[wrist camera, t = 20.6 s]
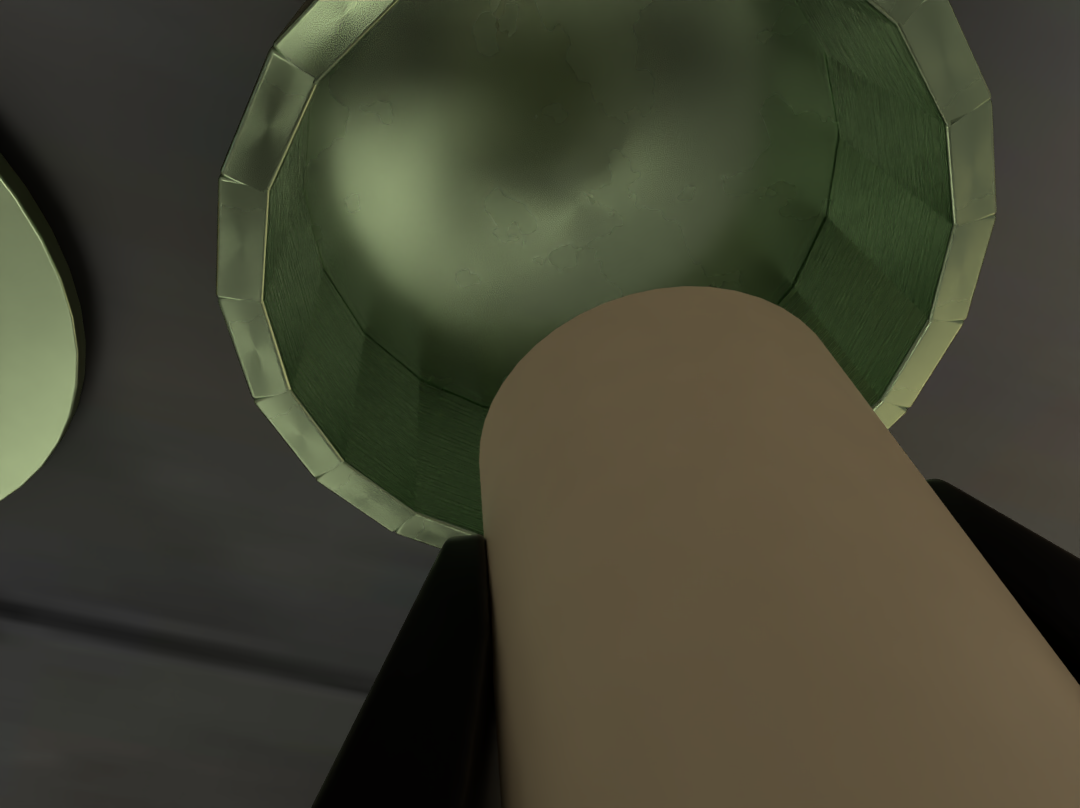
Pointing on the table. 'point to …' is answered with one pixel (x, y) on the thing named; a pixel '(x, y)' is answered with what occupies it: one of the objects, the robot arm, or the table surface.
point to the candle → (743, 585)
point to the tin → (582, 206)
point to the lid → (34, 337)
